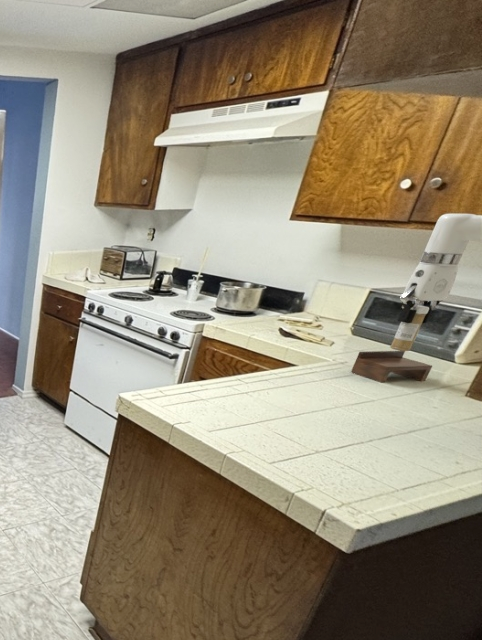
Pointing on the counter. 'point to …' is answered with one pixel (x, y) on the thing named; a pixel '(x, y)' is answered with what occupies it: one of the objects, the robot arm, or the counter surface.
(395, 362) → the shelf
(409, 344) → the sprinkles bottle
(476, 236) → the robot arm
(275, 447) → the counter surface
